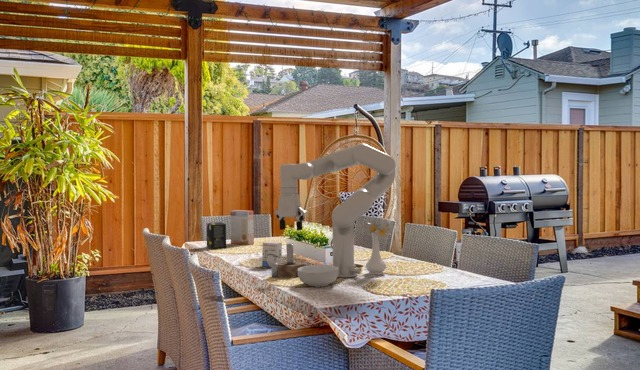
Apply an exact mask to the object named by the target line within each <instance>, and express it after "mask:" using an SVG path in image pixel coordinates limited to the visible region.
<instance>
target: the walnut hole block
mask: <svg viewBox="0 0 640 370" xmlns="http://www.w3.org/2000/svg"><path fill="white" fill-rule="evenodd" d="M304 266H305V263H301V262H300V263H299V262H294V265H287V261H284V262H282V263H279V264H278V277H284V276H286V277H285V278H291V277H294V278H297V277H296V276H298V268H300V267H304Z"/></svg>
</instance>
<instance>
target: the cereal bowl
mask: <svg viewBox="0 0 640 370" xmlns="http://www.w3.org/2000/svg"><path fill="white" fill-rule="evenodd" d="M297 278H298V279H299V281H300V282H302V283H303V284H306V285H308V286H309V285H310V286H309V287H311V286H315V287H314V288H322V287H323V286H324V287H327V286H329V284H332V283H334V282H335V281H336V280H337V279H338V278H339V277H338V267H336V266H333V265H327V264H314V265H313V264H312V265H304V267H300V268H298V277H297ZM320 286H321V287H320Z"/></svg>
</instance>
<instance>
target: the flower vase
mask: <svg viewBox="0 0 640 370" xmlns="http://www.w3.org/2000/svg"><path fill="white" fill-rule="evenodd" d="M369 221H370V222H369ZM392 229H393V227H392V226H390V223H389V222H388V220H387V219H386V218H384V220H382V219H381V218H377V219H374V217H369V220H368V218H366V219H365V222H364V226H363V227H362V228H361V233H360V234H361V235H362V234H363V233H364V232H365V231H366V234H367V236H368V235H371V238H372V239H371V240H372V245H371V246H372V250H371V256H370V258H369V259H368V260H367V262H366V263H365V269H366V270H367V271H368V273H369V275H372V276H378V275H383V274H384V271H385V270H386V269H387V264H386V262H385V261H384V260H383V259H382V257H381V256H382V255H381V251H380V241H381V240H382V238H383V239H384V240H385V241H388V240H389V236H388V235H390V236H391V235H392V233H391V232H392Z"/></svg>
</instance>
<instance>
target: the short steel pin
mask: <svg viewBox="0 0 640 370" xmlns="http://www.w3.org/2000/svg"><path fill="white" fill-rule="evenodd" d="M270 268H271V269H270V270H271V278H272V277H278V278H279V276H278V263H272V264H271V267H270Z"/></svg>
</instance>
